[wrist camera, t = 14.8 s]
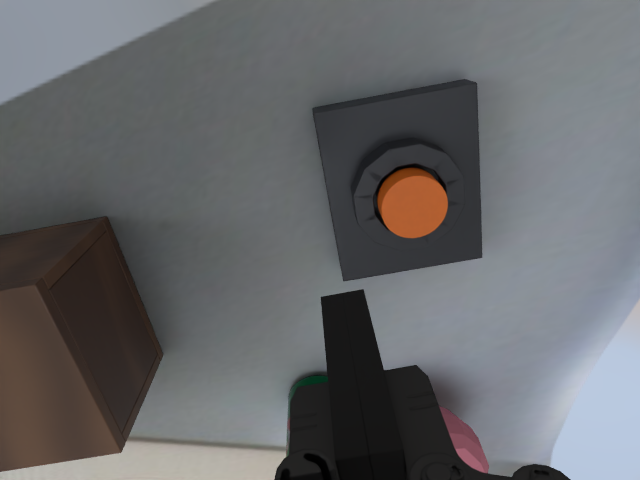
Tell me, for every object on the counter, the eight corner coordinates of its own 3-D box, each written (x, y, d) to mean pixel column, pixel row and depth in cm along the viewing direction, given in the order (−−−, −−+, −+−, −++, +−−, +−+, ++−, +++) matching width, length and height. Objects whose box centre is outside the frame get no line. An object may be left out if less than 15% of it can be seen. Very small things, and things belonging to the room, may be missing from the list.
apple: (403, 357, 39) (433, 458, 29) (482, 394, 41) (534, 499, 32) (343, 429, 42) (354, 540, 33) (420, 461, 44) (450, 573, 35)
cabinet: (-5, 383, 38) (-96, 487, 30) (-87, 251, 33) (-227, 330, 24) (163, 355, 38) (121, 453, 29) (107, 215, 32) (34, 284, 24)
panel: (312, 107, 30) (313, 118, 26) (465, 78, 29) (488, 85, 26) (341, 267, 35) (345, 295, 31) (472, 244, 34) (492, 270, 31)
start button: (373, 173, 28) (377, 182, 26) (438, 161, 28) (446, 170, 26) (380, 232, 30) (385, 243, 28) (442, 221, 30) (450, 232, 28)
